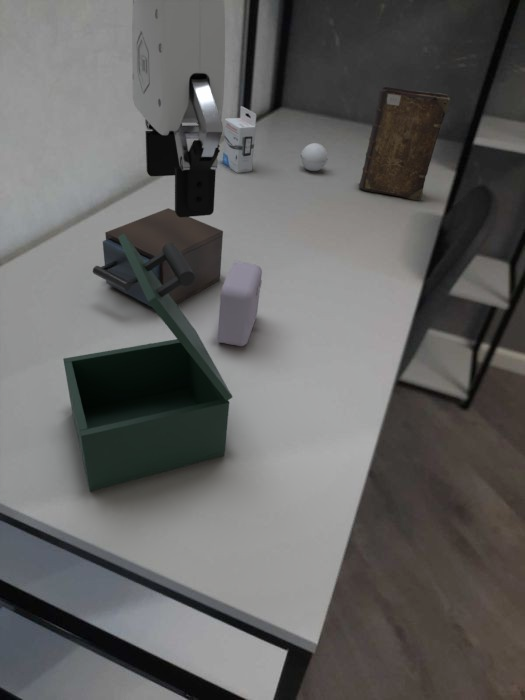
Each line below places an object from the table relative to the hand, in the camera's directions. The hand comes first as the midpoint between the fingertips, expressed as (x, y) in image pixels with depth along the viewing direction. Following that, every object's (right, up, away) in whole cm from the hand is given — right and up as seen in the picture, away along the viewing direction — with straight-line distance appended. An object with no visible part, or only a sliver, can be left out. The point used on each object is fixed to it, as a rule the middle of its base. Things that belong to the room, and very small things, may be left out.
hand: (178, 192), depth 47 cm
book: (+42, +28, +93) cm, 106 cm away
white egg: (+21, +36, +100) cm, 108 cm away
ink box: (+1, +36, +96) cm, 103 cm away
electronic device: (+4, -11, +36) cm, 38 cm away
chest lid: (-2, -11, +8) cm, 14 cm away
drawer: (-12, -3, +42) cm, 44 cm away
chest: (-7, -24, +17) cm, 30 cm away
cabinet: (-9, -2, +45) cm, 46 cm away
